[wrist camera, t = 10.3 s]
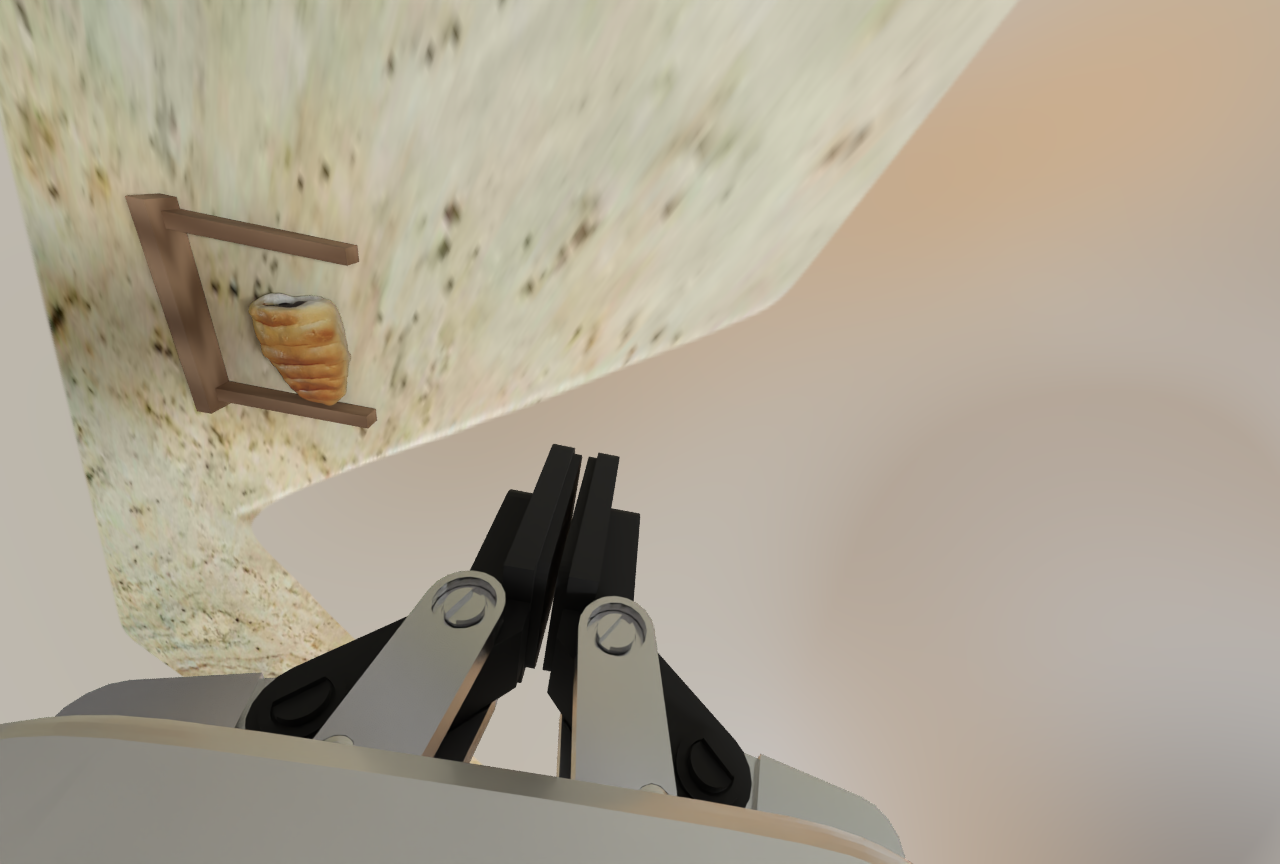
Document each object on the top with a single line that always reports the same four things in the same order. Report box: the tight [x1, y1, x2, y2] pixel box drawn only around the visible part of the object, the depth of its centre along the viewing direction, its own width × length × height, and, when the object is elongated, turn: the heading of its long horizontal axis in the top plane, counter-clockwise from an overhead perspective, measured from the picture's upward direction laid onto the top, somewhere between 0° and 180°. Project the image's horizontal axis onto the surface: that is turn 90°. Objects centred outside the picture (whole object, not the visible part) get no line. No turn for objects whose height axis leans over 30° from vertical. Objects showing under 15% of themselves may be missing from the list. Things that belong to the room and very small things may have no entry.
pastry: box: [248, 293, 351, 406], centre depth 38 cm, size 9×7×4 cm
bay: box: [125, 194, 377, 428], centre depth 38 cm, size 17×14×2 cm
